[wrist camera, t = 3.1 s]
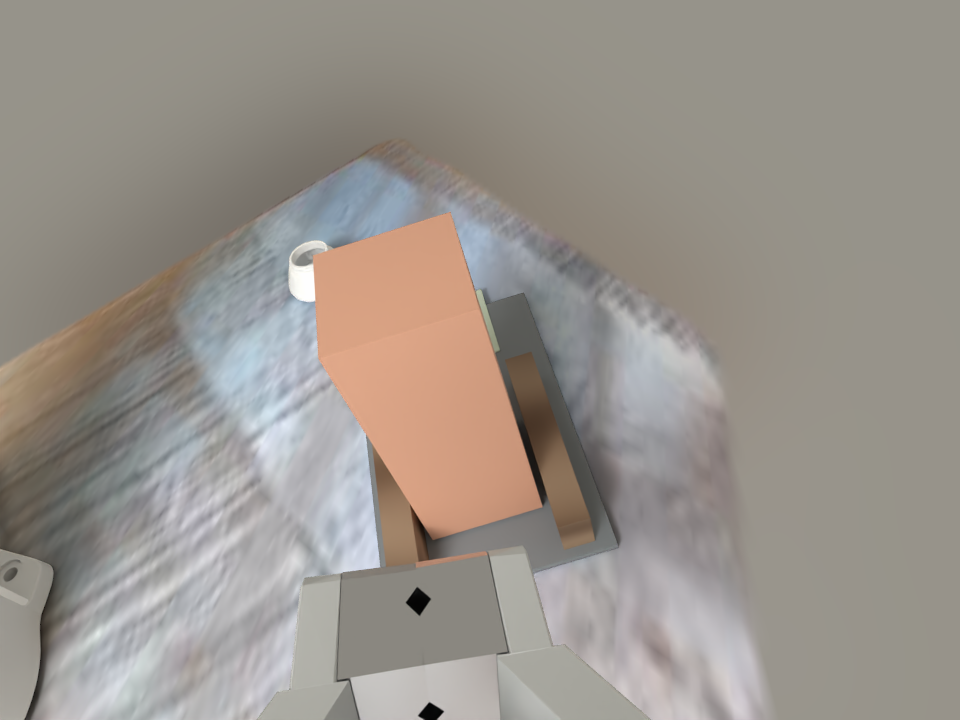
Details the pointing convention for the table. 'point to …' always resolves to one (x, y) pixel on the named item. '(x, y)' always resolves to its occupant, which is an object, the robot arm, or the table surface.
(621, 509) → the table surface
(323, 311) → the block
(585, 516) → the chute rails
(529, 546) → the chute mat
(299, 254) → the white jar
